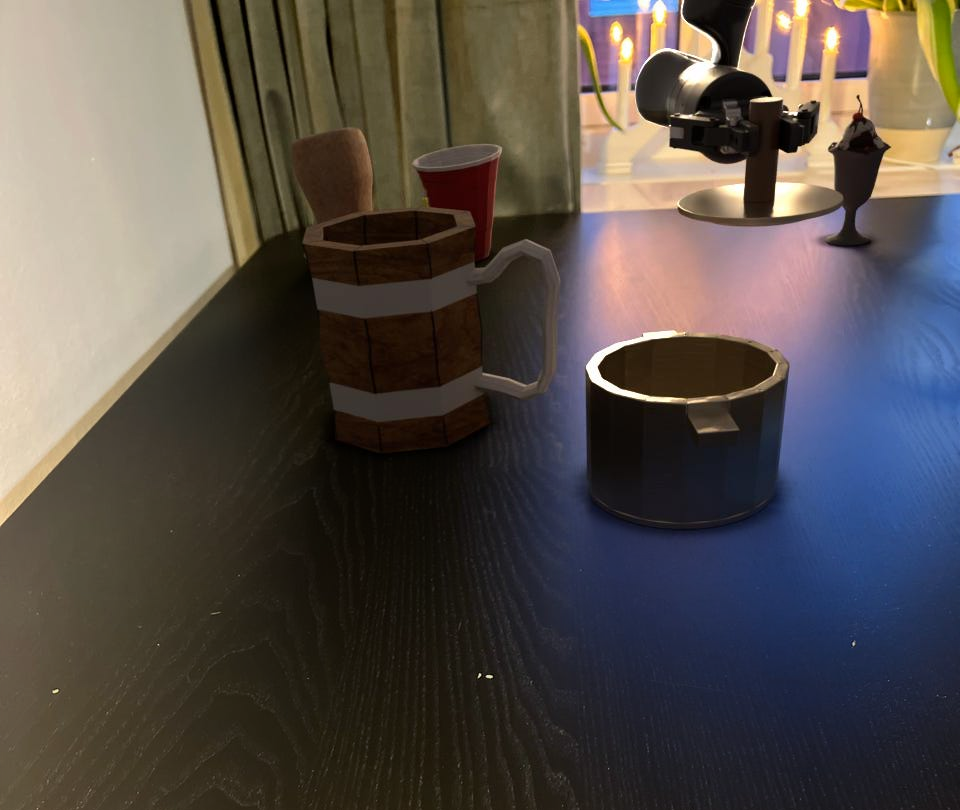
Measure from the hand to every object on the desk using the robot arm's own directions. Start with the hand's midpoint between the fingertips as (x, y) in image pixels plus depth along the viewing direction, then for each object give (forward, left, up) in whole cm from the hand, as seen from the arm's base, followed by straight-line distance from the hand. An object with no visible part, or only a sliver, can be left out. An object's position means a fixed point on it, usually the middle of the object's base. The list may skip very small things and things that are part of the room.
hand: (774, 140), depth 78 cm
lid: (0, -3, -5) cm, 6 cm away
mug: (+28, +10, -17) cm, 34 cm away
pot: (+12, +25, -17) cm, 33 cm away
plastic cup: (+25, -42, -17) cm, 52 cm away
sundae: (-20, -34, -17) cm, 43 cm away
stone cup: (+40, -47, -17) cm, 64 cm away
